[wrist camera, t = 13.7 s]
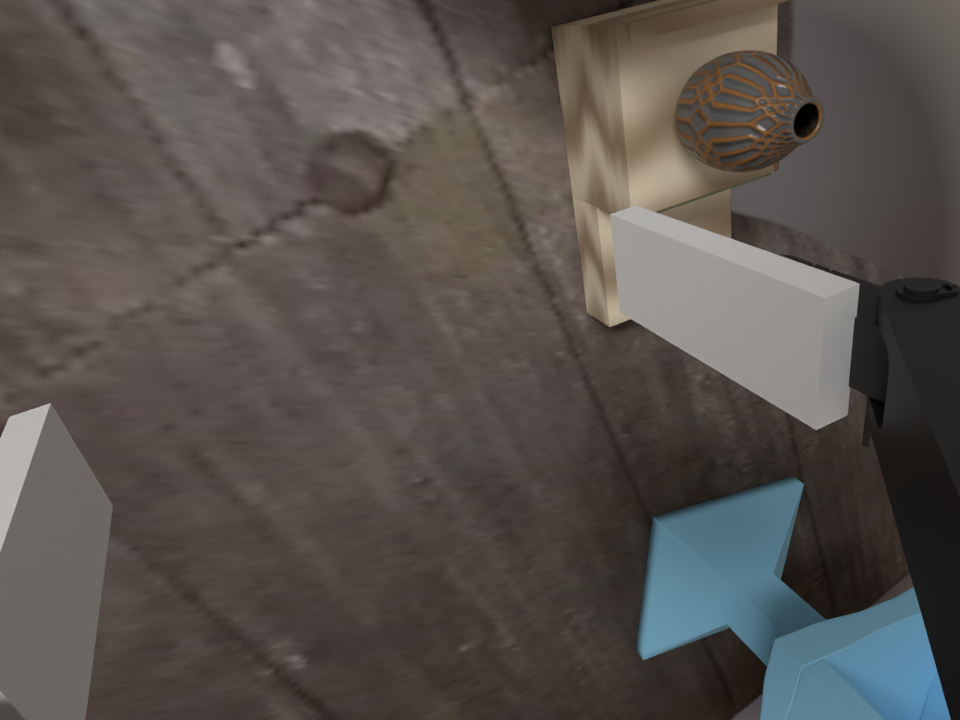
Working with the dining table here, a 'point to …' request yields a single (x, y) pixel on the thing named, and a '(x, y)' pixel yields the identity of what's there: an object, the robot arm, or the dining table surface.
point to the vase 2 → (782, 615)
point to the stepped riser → (645, 121)
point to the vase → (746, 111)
